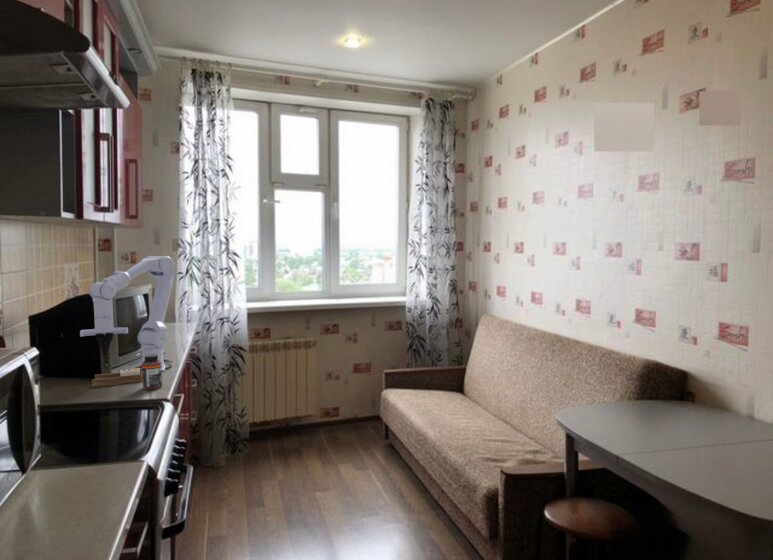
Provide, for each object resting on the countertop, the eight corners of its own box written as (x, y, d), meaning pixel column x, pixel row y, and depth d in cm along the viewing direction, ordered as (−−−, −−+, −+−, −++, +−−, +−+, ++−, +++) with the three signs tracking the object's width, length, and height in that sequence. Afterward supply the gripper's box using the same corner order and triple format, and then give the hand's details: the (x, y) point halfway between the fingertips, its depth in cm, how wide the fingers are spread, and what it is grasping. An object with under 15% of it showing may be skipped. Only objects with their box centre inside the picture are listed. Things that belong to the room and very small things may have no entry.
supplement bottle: (143, 386, 174) (141, 353, 173) (162, 384, 176) (160, 352, 175) (142, 391, 168) (141, 357, 167) (162, 388, 171) (161, 355, 170)
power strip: (121, 380, 182) (121, 368, 181) (140, 378, 184) (139, 367, 184) (120, 383, 179) (120, 371, 178) (139, 381, 181) (139, 369, 180)
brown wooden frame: (95, 381, 180) (94, 374, 180) (144, 376, 186) (144, 370, 186) (92, 387, 173) (91, 380, 173) (143, 381, 179) (143, 375, 179)
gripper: (77, 319, 170) (79, 359, 171) (126, 316, 175) (127, 355, 177) (81, 316, 176) (83, 355, 177) (127, 314, 182) (129, 351, 183)
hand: (105, 355), depth 177 cm, fingers closed
